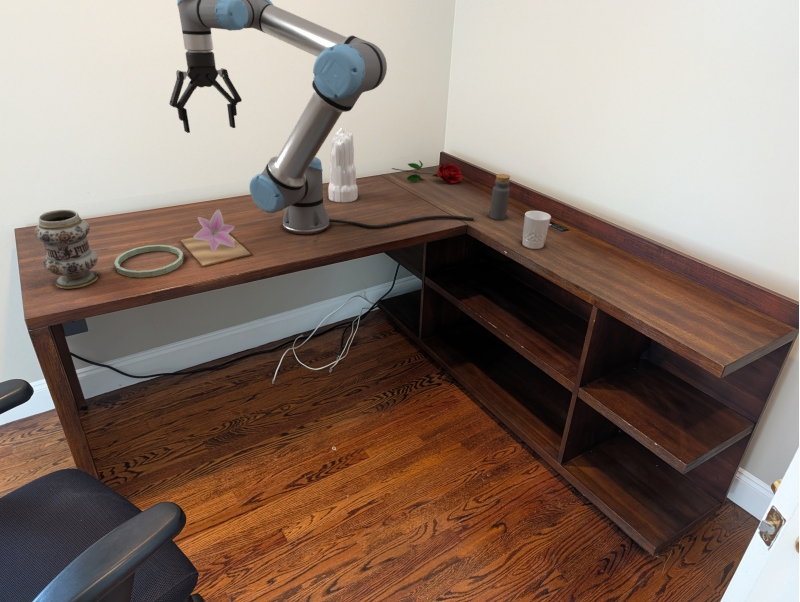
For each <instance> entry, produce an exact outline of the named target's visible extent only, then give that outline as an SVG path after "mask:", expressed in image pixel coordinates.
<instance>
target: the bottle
mask: <svg viewBox="0 0 800 602" xmlns="http://www.w3.org/2000/svg"><path fill="white" fill-rule="evenodd" d="M495 178H496V179H495V180H494V184H495V185H494V186H493V187H492V193H491V201H490V209H489V218H490V219H492V220H496V221H503V220H506V218H507V213H508V206H509V198H510V192H511V188H510V187H509V186H510V184H511V181H510V178H511V176H510V175H509V174H505V173H498V174H496V175H495Z"/></svg>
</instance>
